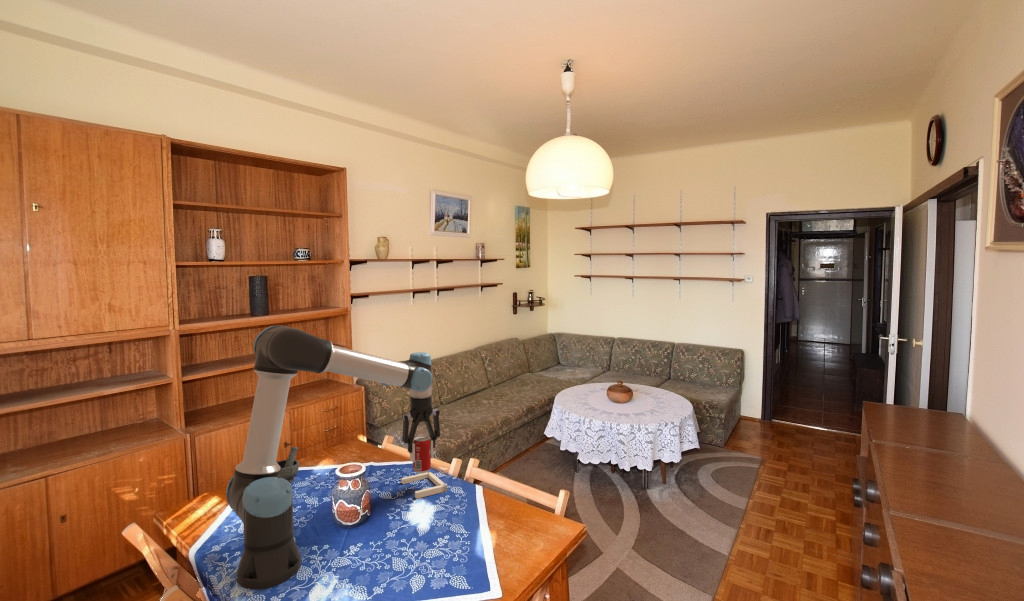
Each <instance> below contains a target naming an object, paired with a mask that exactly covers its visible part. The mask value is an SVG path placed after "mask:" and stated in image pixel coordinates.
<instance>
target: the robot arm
mask: <svg viewBox="0 0 1024 601" xmlns="http://www.w3.org/2000/svg"><path fill="white" fill-rule="evenodd" d="M253 351H254V355H255V361H254V367H253V371H254V373H255V374H256V375H257V376H258V377H257V383H256V389H255V392H254V399H253V405H252V409H251V414H250V421H249V426H248V431H247V438H246V440H245V441H246V442H245V447H244V451H243V457H242V461H241V462H239V463H238V464H236V465H235V468H234V471H233V472H234V473H233V476H232V477H231V478H230V479H229V481H228V482H227V486H226V490H225V495H226V500H227V503H228V506H229V507H230V509H231V510H233V512H234V513H235V514H236V516H238V518H239V519H240V520H241V521H242V525H243V547H244V548H243V552H242V555H241V557H240V561H239V564H238V567H237V570H236V579H237V580H236V581H237V584H238V585H239V586H240V587H241V588H243V589H246V590H257V591H258V590H264V589H269V588H270V589H271V588H273V587H276V586H279V585H282V584H283V583H285V582H287V581H289V579H291V578H293V577H294V576H295V575H297V573H298V571H299V570H300V568H301V565H302V557H301V553H300V551H299V548H298V546H297V543H296V541H295V538H294V503H293V502H294V493H293V487H292V483H289V482H288V481H287V480H285V479H283V478H279V474H280V466H279V465H278V463H277V462H278V461H277V458H278V451H279V448H280V447H279V445H280V441H281V435H282V431H283V423H284V418H285V413H286V409H287V408H286V407H287V401H288V398H289V397H288V396H289V390H290V386H291V380H292V379H293V378H294V377H296V376H297V375H298V372H309V373H310V372H311V373H314V374H315V373H316V374H319V375H320V374H323V373H324V372H328V373H329V372H330V373H333V374H339V375H342V376H347V377H352V378H355V379H356V378H358V379H361V380H367V381H372V382H377V383H380V385H382V386H395V387H400V388H404V389H408V390H410V392H409V393H410V398H409V399H410V400H409V401H410V404H409V405H410V409H409V412H408V413H406V414H405V413H403V414H402V415H401V417H402V422H403V423H402V438H401V440H402V442H403V443H404V444H407V452H408V453H409V458H410V459H409V460H410V461H411V462H412V463H413V462H415V444H414V443H413V441H414V440H415V436H416V432H417V430H418V426H419V424H420V423H422V422H424V423H425V427H426V430H427V432H428V435H429V437H428V438H429V440H430V446H431V459H433V458H434V449H435V448H436V440H437V439H438V438H440V437H441V429H440V413H441V412H440V410H439V409H437V408H434V409H433V408H432V406H433V405H432V404H433V401H432V400H433V399H432V398H433V397H432V383H433V374H432V366H433V365H432V359H431V356H432V355H431V354H430V353H429V352H424V351H423V352H419V351H417V352H411V354H409V359H407V360H400V361H396V360H393V359H389V358H384V357H382V356H377V355H373V354H369V353H366V352H362V351H358V350H354V349H350V348H346V347H341V346H338V345H333V342H332V341H331V340H328V339H325V338H322V337H320V336H316V335H313V334H311V333H309V332H307V331H304V330H301V329H299V328H295V327H292V326H291V327H290V326H287V325H286V326H285V325H279V324H277V325H272V326H268V327H266V328H264V329H263V330H261V331H260V332H259V333H258V334H257V336H256V337H255V339H254V340H253ZM431 415H432V418H433V419H432V420H433V425H432V422H431V419H430V417H431ZM410 418H411V419H412V421H411V426H410ZM409 427H410V430H409Z"/></svg>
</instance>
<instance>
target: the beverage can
mask: <svg viewBox="0 0 1024 601" xmlns="http://www.w3.org/2000/svg"><path fill="white" fill-rule="evenodd" d="M429 438H430V437H428V436H427V435H420V436H416V437H414V440H413V443H414V444H415V462H412V469H413V471H414V472H415V473H416V474H422V473H427V472H430V470H431V469H432V466H431V465H432V463H431V462H432V461H431V459H432V458H431V446H430V440H429Z"/></svg>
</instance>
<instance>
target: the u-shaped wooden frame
mask: <svg viewBox="0 0 1024 601" xmlns="http://www.w3.org/2000/svg"><path fill="white" fill-rule="evenodd" d="M425 478H426V479H429V480H430V481H431V482H432V483H433V484H434V485H435V486H432V487H429V488H428V487H427V488H424V489H420V490H415V491H414V497H415V499H416V500H417V499H422V498H425V497H429V496H432V495H433V496H434V495H436V494H441V493H444V492H448V485H447V484H446V483H445V482H444V481H442V480H441V479H440V478H438V476H436V475H435V474H434V473H432V471H428V472H426V473H421V474H420V473H417V474H415V475H409V476H405V477H402V478H401V480H400V481H401V484H402V485H406V484H409V482H410V483H414V482H417V480H418V481H421V480H422V481H423V480H424V479H425ZM413 481H414V482H413ZM405 483H406V484H405Z"/></svg>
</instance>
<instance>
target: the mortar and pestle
mask: <svg viewBox="0 0 1024 601" xmlns="http://www.w3.org/2000/svg"><path fill="white" fill-rule="evenodd" d="M298 450H299V448H298V447H296V446H291V447H290V451H289V453H288V456H287V458H286V459H283V460H278V461H276V462H277V463H278V465H279V466H280V474H279V478H283V479H285V480H287V481H288V482H289V483H290V484H292V483H293V482H294V481H295V477H296V476H297V474H298V472H299V468H300V460H297V459H296V456H297V453H298Z"/></svg>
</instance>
